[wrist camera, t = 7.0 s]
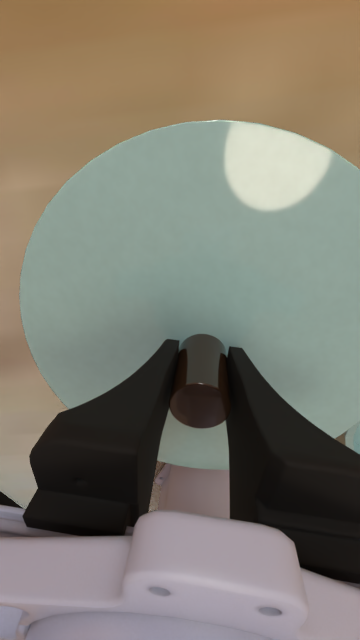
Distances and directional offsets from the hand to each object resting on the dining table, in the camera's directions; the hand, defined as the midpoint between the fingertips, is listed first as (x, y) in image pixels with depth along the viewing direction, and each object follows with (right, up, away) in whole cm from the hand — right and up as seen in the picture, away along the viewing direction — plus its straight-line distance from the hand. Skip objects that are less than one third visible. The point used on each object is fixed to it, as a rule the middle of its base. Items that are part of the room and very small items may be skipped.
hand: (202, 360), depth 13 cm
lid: (0, 0, +1) cm, 1 cm away
